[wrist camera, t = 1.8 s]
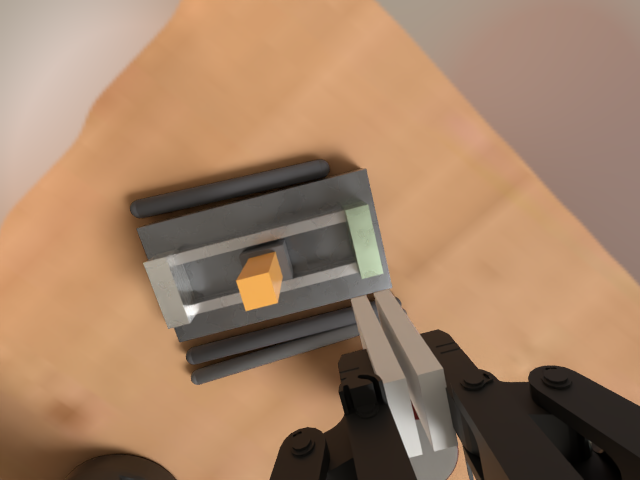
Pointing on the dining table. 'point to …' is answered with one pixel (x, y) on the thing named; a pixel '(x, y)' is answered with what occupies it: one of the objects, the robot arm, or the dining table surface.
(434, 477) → the mug
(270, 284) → the lever
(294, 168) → the cord
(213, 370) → the cord
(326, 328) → the grey rod
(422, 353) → the robot arm
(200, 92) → the dining table surface
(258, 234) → the gray slotted base
